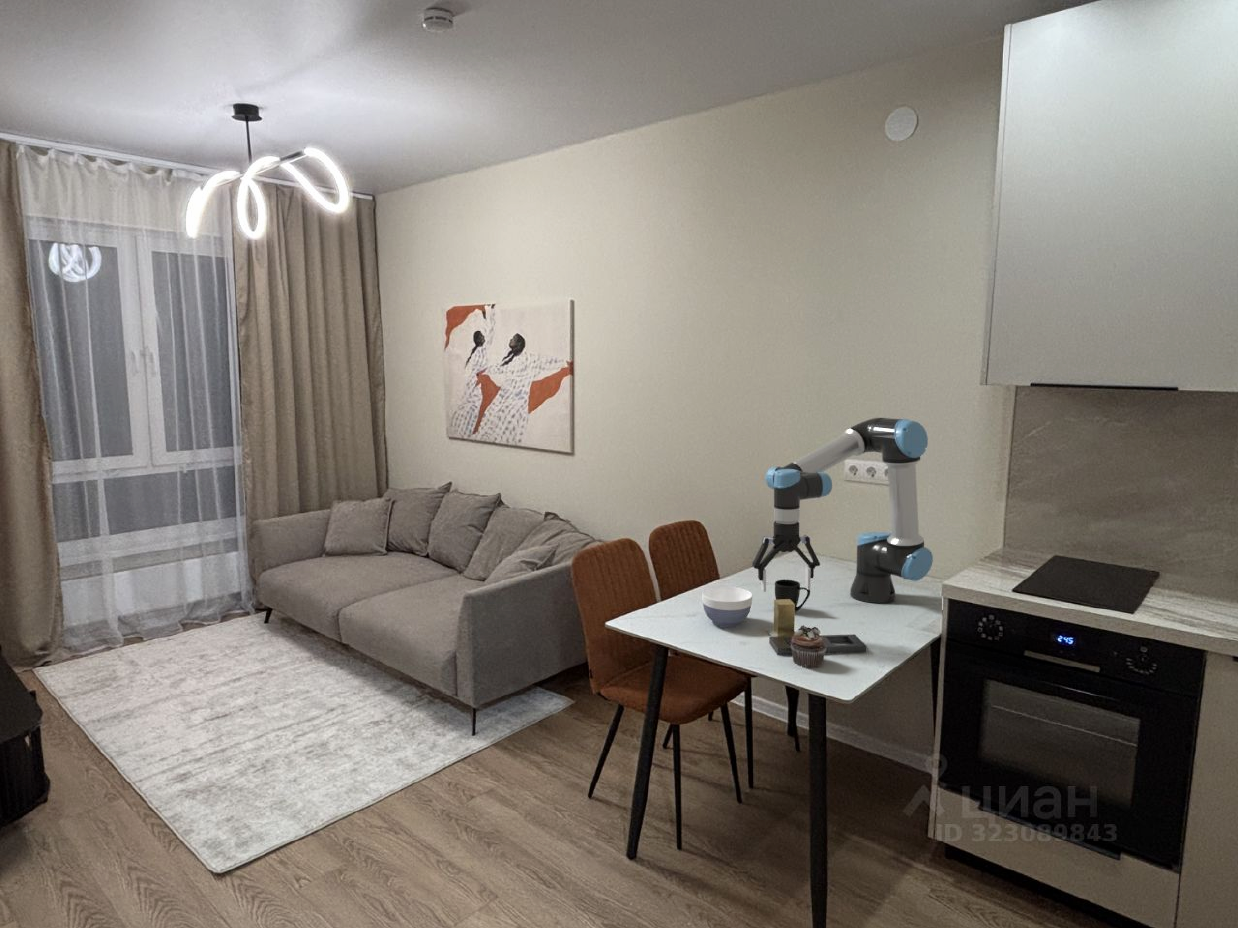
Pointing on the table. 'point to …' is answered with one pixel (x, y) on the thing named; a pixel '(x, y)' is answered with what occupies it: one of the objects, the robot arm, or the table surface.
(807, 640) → the cupcake
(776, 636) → the pad
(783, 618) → the tan wooden peg
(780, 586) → the mug
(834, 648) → the dark grey peg board
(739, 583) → the table surface
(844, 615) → the table surface
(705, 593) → the bowl
